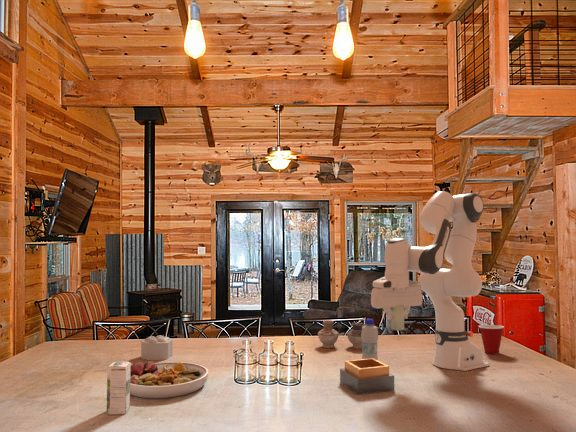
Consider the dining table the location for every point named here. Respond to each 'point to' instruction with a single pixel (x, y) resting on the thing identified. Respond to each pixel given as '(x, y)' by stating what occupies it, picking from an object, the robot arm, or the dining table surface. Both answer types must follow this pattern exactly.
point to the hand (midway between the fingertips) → (397, 319)
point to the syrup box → (118, 388)
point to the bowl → (166, 379)
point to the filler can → (397, 318)
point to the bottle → (369, 340)
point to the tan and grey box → (366, 376)
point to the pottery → (331, 335)
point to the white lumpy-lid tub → (156, 348)
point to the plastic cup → (491, 337)
